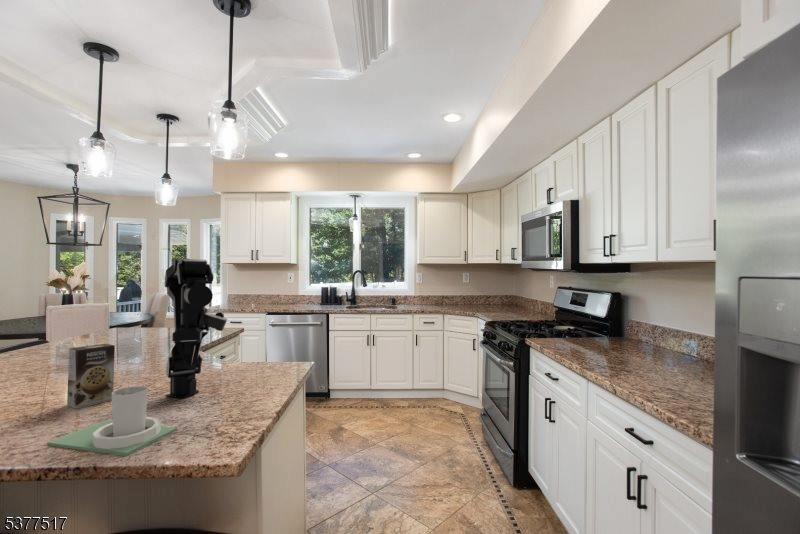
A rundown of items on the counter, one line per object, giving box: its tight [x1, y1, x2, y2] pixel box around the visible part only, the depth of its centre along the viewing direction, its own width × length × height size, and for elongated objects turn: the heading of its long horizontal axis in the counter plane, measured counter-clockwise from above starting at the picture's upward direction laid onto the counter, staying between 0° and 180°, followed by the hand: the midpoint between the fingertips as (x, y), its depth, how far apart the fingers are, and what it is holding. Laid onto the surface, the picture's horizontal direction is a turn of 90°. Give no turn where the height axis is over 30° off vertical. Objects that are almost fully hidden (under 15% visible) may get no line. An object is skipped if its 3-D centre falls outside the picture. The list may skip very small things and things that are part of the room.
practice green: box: [46, 416, 178, 457], centre depth 86 cm, size 21×13×3 cm, turn 77°
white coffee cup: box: [111, 385, 149, 437], centre depth 85 cm, size 7×7×10 cm
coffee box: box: [66, 343, 116, 410], centre depth 109 cm, size 9×6×16 cm
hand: (192, 361), depth 104 cm, fingers open, 9 cm apart
